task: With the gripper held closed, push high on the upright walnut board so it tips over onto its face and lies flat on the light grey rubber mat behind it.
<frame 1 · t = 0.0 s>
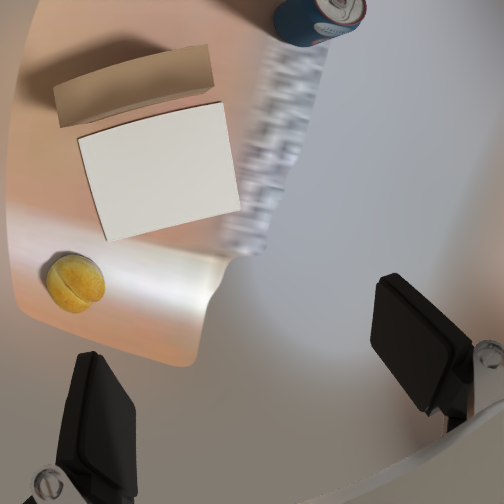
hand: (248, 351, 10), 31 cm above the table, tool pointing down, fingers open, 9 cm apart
bread roll: (77, 279, 40), on the table
soda can: (296, 25, 32), on the table
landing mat: (159, 172, 36), on the table
walnut board: (143, 90, 31), on the table
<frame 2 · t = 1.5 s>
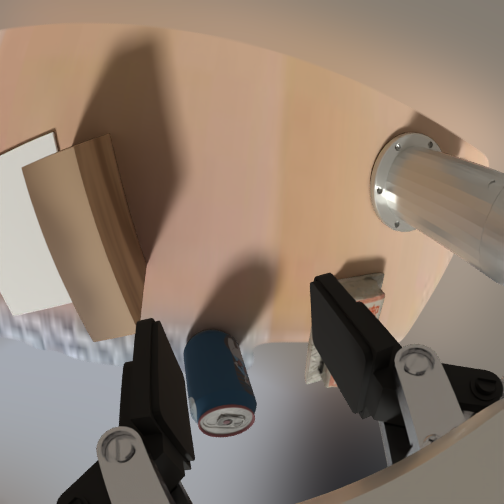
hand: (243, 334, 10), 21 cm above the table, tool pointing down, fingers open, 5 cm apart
soda can: (210, 345, 38), on the table
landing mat: (24, 235, 26), on the table
packaged product: (339, 327, 43), on the table
walnut board: (108, 208, 28), on the table
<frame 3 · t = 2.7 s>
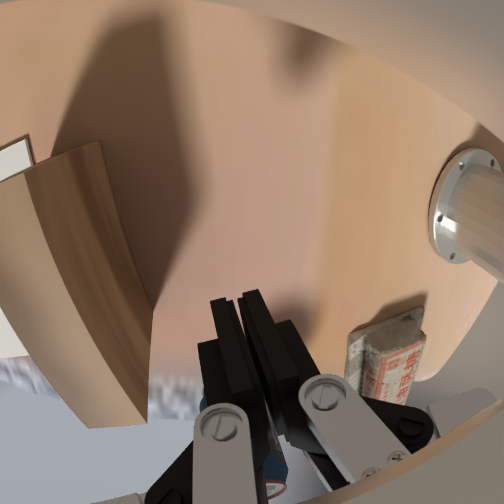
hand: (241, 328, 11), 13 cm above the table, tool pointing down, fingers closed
soda can: (230, 394, 31), on the table
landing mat: (0, 270, 20), on the table
packaged product: (375, 368, 35), on the table
walnut board: (101, 240, 21), on the table
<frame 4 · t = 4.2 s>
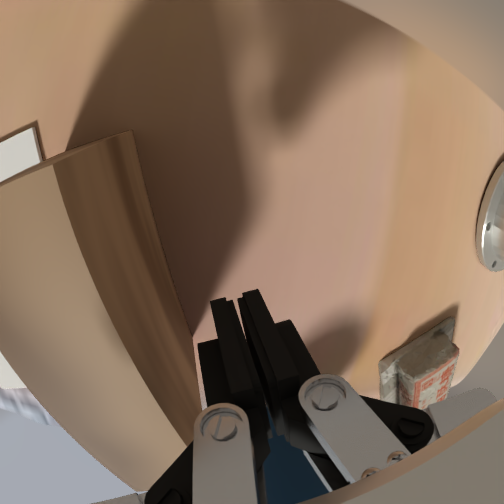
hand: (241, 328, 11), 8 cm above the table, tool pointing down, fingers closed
soda can: (268, 418, 28), on the table
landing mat: (1, 291, 16), on the table
packaged product: (411, 379, 32), on the table
walnut board: (131, 256, 17), on the table
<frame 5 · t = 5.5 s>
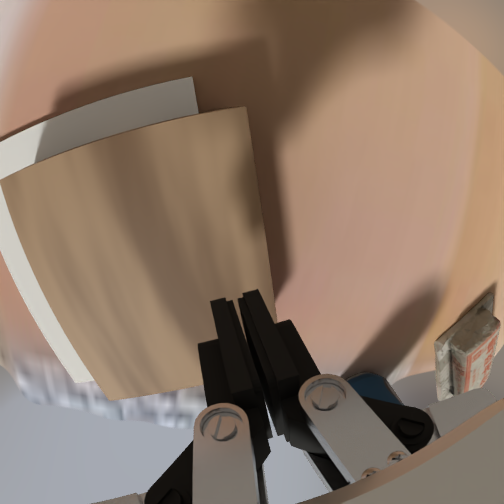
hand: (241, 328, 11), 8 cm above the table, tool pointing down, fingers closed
soda can: (352, 389, 29), on the table
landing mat: (108, 262, 17), on the table
packaged product: (459, 351, 34), on the table
walnut board: (258, 245, 16), point 2 cm above the table, tilted 90°, touching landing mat
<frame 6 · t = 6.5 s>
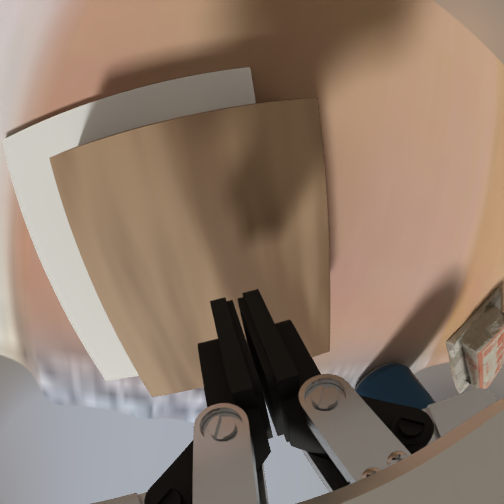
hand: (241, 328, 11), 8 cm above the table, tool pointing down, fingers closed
soda can: (376, 380, 29), on the table
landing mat: (153, 252, 17), on the table
packaged product: (473, 343, 34), on the table
walnut board: (312, 233, 16), point 2 cm above the table, tilted 90°, touching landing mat
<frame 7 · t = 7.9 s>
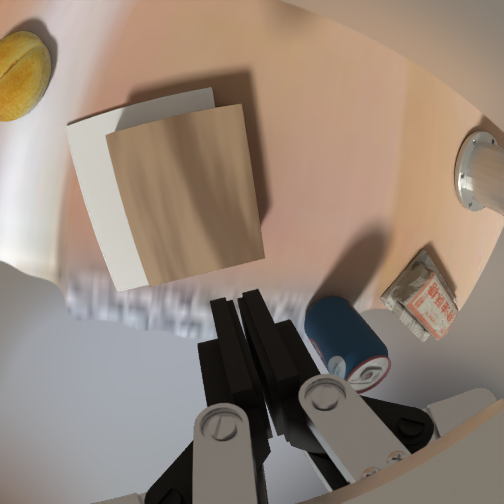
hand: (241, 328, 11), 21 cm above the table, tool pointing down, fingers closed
bread roll: (17, 76, 20), on the table
soda can: (324, 313, 40), on the table
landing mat: (156, 195, 29), on the table
packaged product: (419, 297, 45), on the table
walnut board: (248, 180, 28), point 2 cm above the table, tilted 90°, touching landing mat
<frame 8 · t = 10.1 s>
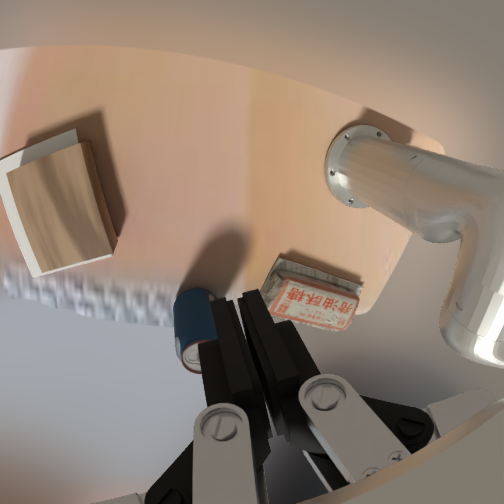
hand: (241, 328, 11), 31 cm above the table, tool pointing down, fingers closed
soda can: (195, 303, 47), on the table
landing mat: (48, 208, 35), on the table
packaged product: (308, 294, 52), on the table
walnut board: (99, 195, 34), point 2 cm above the table, tilted 90°, touching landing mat
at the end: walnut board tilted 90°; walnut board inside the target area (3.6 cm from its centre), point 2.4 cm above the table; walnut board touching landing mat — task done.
